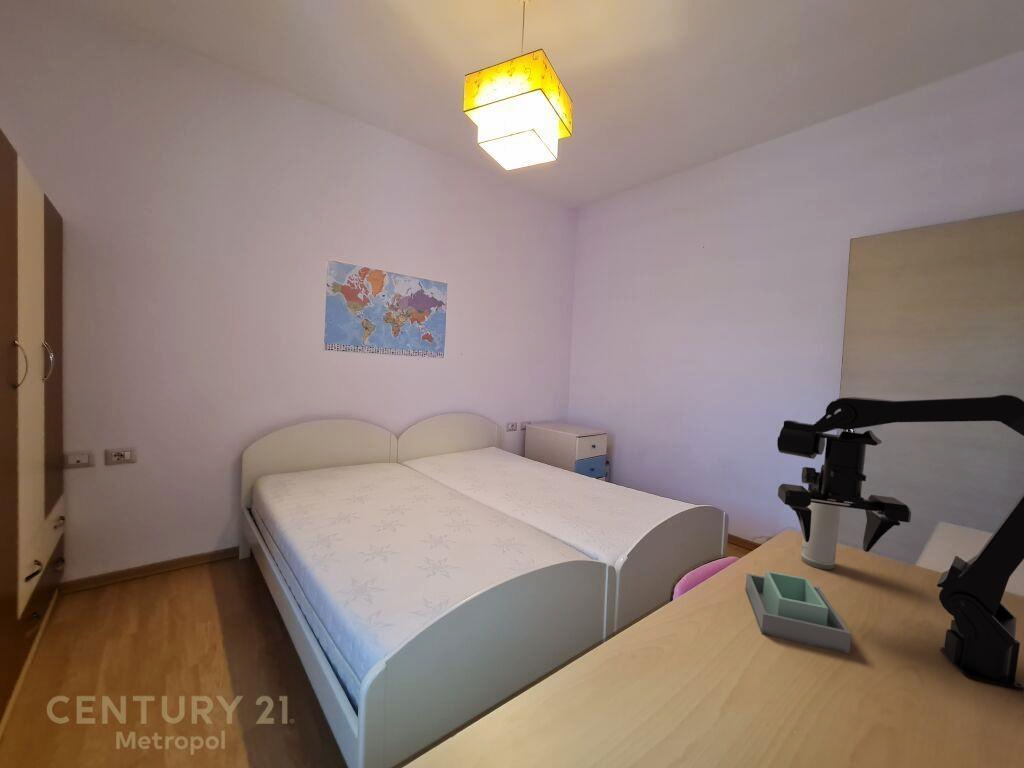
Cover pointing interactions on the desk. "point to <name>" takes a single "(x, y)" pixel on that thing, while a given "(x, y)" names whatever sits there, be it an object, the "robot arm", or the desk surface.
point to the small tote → (794, 598)
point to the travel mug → (822, 535)
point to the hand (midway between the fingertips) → (835, 546)
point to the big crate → (798, 621)
